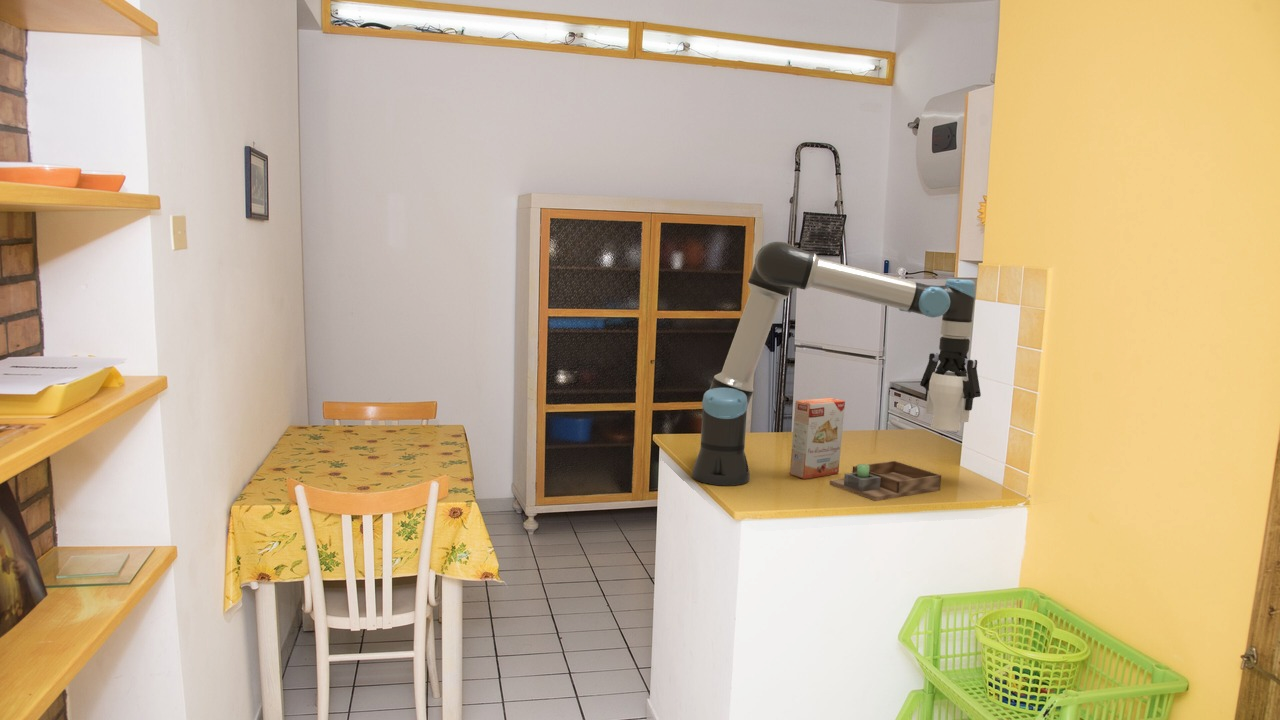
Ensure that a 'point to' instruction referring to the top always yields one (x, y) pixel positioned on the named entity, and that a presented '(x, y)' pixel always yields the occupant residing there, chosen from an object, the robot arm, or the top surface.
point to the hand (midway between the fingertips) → (946, 417)
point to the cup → (946, 400)
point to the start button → (863, 470)
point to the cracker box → (817, 437)
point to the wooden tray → (889, 481)
